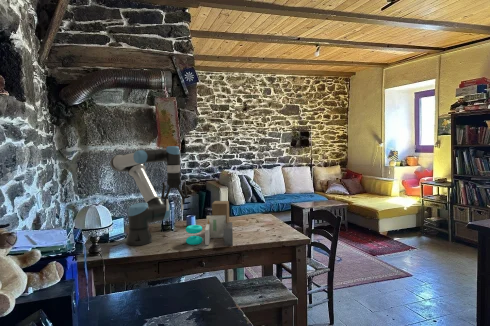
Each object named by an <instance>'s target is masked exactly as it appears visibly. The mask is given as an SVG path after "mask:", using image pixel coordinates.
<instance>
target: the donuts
mask: <svg viewBox="0 0 490 326" xmlns="http://www.w3.org/2000/svg"><path fill="white" fill-rule="evenodd" d="M185 231H186V232H187V233H188V234H199V233H201V232H202V231H203V226H201V225H200V224H199V225H198V224H191V225H188V226H186V228H185ZM185 243H186V244H187V245H191V246H192V245H193V246H194V245H199V244H202V243H203V237H202V236H200V235H191V236H188V237H187V238H186V240H185Z"/></svg>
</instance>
